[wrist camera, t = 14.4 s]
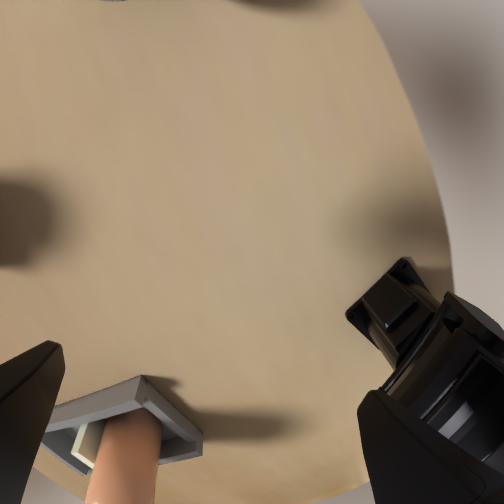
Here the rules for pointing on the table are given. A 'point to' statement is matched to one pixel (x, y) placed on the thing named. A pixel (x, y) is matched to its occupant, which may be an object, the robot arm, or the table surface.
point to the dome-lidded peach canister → (127, 460)
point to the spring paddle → (88, 441)
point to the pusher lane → (113, 403)
